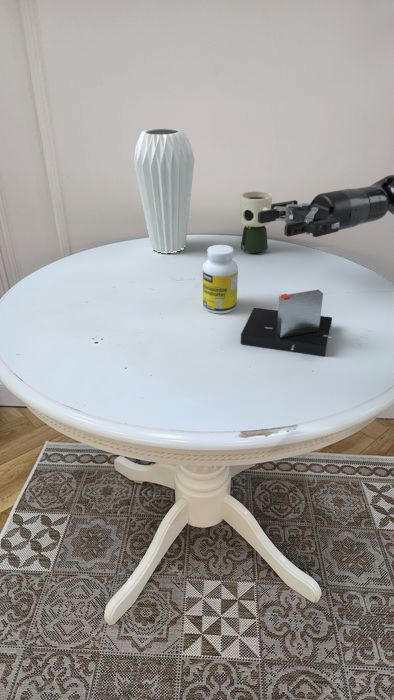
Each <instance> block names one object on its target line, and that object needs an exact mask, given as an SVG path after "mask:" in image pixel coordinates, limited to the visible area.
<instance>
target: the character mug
mask: <svg viewBox="0 0 394 700" xmlns="http://www.w3.org/2000/svg"><path fill="white" fill-rule="evenodd" d="M239 200H240V202H239V207H240V214H239V222H240V224H241V225H243V226H244V227H243V230H242V235H241V244H240V249H241V250H243V251H244V252H245V253H249V254H257V253H260V252H264V251H266V250H267V249H268V248H269V247H268V246H269V245H268V233H267V226H269V224H271V222H267V223H262V224H261V223H259V222H258V213H259V212H260V211H264V210H270V209H271V204H273V203H272V202H273V194H272V193H270V192H267V191H261V190H250V191H249V190H248V191H244V192H242V193H241V194H240V199H239Z"/></svg>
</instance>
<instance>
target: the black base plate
mask: <svg viewBox="0 0 394 700" xmlns="http://www.w3.org/2000/svg"><path fill="white" fill-rule="evenodd" d="M277 321H278V309H269V308H261V307H255V306H254V307H253V309H252V310H251V312H250V315H249V316H248V319H247V320H246V323H245V325H244V326H243V329H242V331H241V333H240V345H245V346H251V347H257V348H264V349H271V350H278V351H284V352H285V351H286V352H292V353H299V354H305V355H313V356H320V357H326V353H327V348H328V343H329V339H332V338H333V335H331V330H332V324H333V317H331V316H326V315H325V316H324V315H321V316H320V325H319V331H317V332H311V333H306V334H300V335H295V336H289V337H284V338H280V337H279V336H278V335H277Z"/></svg>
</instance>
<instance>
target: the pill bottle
mask: <svg viewBox="0 0 394 700" xmlns="http://www.w3.org/2000/svg"><path fill="white" fill-rule="evenodd" d="M206 254H207V260H205V261H204V263H203V265H202V306H203V308H204V309H205V310H206V311H208V312H210V313H211V314H212V313H213V314H227V313H230V312H232V311H234V310H235V309H236V307H237V304H238V279H239V266H238V263H237V262H236V261H235V260H234V259H233V258H234V248H233V246H231V245H229V244H228V245H227V244H214V245H210V246H209V247H207V253H206Z"/></svg>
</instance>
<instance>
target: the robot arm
mask: <svg viewBox="0 0 394 700" xmlns="http://www.w3.org/2000/svg"><path fill="white" fill-rule="evenodd" d="M298 202H299V201H298V200H296V199H294V200H289V201H283V202H275V203H272V204H271V209H270V210H264V211H260V212H259V213H258V222H259V223H261V224H262V223H267V222H270V223H271V222H276V221H277V222H285V224H284V229H283V232H284V233H283V234H284V236H285V237H295V236H299V235H305V236H307V235H310V234H312V235H311V236H312V237H314V238H318V237H322V236H327V235H330V234H333V233H337V232H339V231H341V230H347V229H351V228H355V227H357V226H359V225H363V224H368V223H372V222H376V221H378V220H381V219H383V218H384V217H385V216H386V215H387V213H388V212H389V213H391V214H392V215H393V216H394V174H388V175H386V176H384V177H382V178H381V179H379V180H377V181H375V182H374V183H372V184H370V185H368V186H362V187H358V188H344V189H339V190H334V191H333V190H332V191H328V192H323V193H319V194H317V195H316V196H314V198H313V199H312V200H311V202H310V203H306V202H305V203H301V204H299V203H298ZM290 216H292V218H290Z"/></svg>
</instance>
